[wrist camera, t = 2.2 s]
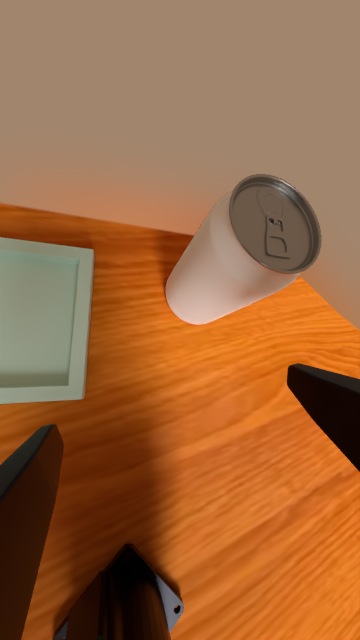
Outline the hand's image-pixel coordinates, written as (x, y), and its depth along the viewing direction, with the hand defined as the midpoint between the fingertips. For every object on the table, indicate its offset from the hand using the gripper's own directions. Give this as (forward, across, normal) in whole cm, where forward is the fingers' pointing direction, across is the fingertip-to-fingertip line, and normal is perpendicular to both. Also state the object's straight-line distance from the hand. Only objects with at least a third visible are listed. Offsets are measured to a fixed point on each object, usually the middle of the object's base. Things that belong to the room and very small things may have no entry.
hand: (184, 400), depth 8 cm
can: (+14, -5, 0) cm, 15 cm away
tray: (+12, +11, -1) cm, 17 cm away
